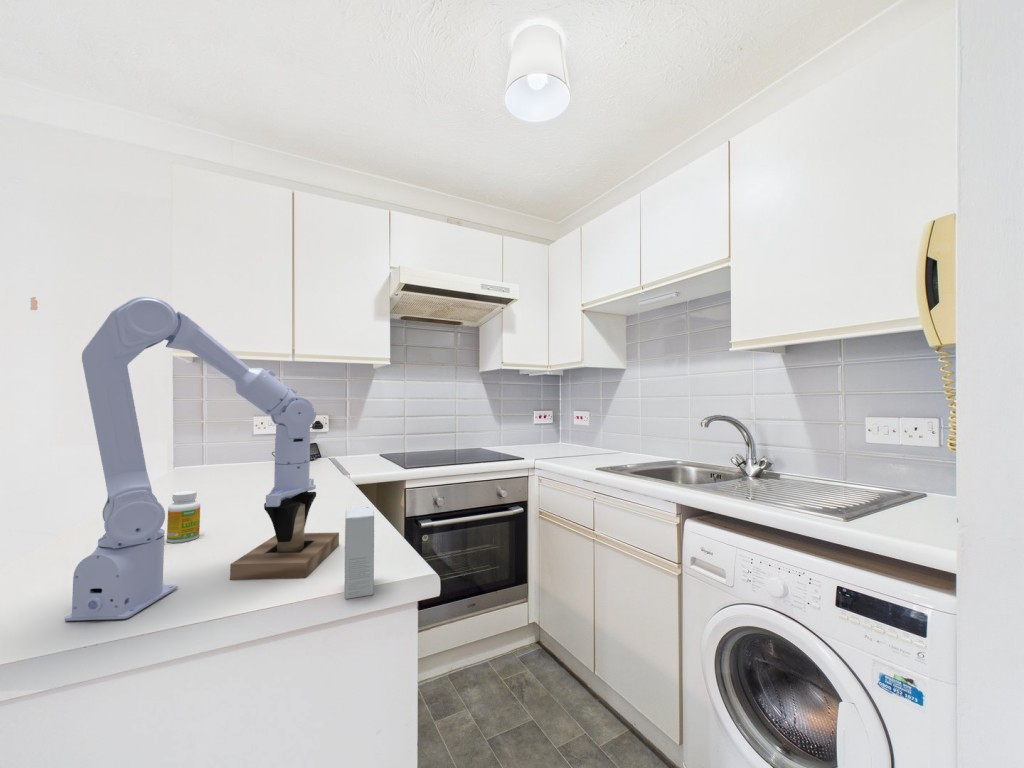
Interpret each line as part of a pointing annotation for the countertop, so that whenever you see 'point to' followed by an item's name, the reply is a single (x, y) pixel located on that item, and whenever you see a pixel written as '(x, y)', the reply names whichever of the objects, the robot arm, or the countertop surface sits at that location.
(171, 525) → the supplement bottle
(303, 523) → the birch peg
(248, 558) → the socket block
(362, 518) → the skincare box
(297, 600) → the countertop surface
